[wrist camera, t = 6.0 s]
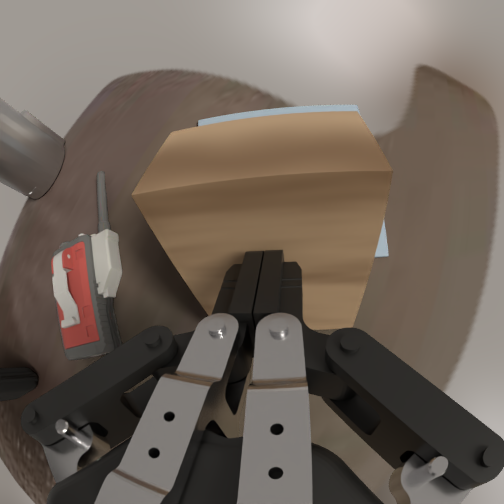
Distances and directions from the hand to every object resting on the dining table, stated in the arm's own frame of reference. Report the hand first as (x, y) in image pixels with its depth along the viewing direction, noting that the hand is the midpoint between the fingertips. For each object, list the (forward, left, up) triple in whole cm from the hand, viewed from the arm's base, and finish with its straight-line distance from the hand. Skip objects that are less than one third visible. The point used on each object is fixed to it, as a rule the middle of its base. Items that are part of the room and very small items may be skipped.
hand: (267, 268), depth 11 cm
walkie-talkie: (-2, -19, -10) cm, 22 cm away
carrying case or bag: (+14, -34, -9) cm, 38 cm away
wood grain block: (+1, 0, -8) cm, 8 cm away
